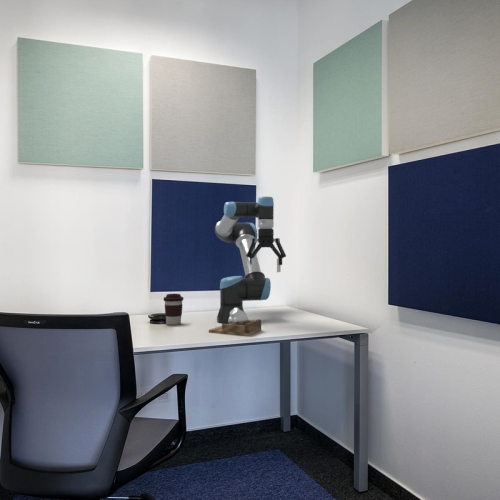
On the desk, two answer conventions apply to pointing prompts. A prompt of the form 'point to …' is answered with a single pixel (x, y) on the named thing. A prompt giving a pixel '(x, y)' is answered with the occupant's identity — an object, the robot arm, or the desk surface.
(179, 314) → the coffee cup
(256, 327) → the open wooden box
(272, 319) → the desk surface
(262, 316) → the desk surface
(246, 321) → the silver round lump
